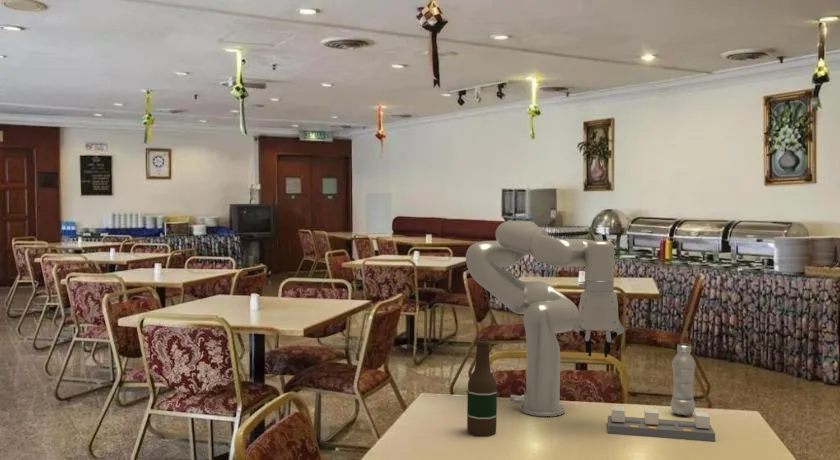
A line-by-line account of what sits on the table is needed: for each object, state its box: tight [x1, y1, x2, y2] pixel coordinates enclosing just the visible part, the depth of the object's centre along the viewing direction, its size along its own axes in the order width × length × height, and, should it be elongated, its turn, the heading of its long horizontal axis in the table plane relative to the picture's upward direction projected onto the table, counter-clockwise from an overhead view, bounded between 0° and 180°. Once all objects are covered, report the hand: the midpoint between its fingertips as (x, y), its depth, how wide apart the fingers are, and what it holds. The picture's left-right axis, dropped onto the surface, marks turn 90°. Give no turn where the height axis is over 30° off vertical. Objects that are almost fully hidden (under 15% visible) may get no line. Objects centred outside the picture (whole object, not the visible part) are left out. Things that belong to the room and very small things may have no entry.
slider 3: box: [693, 411, 711, 429], centre depth 192 cm, size 3×4×3 cm
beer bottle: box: [466, 338, 498, 437], centre depth 191 cm, size 8×8×24 cm
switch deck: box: [607, 415, 716, 442], centre depth 194 cm, size 26×10×2 cm, turn 77°
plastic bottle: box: [670, 343, 696, 417], centre depth 211 cm, size 6×7×20 cm
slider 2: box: [643, 407, 660, 425], centre depth 194 cm, size 3×4×3 cm
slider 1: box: [610, 405, 626, 422], centre depth 196 cm, size 3×4×3 cm
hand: (597, 355), depth 197 cm, fingers open, 3 cm apart
